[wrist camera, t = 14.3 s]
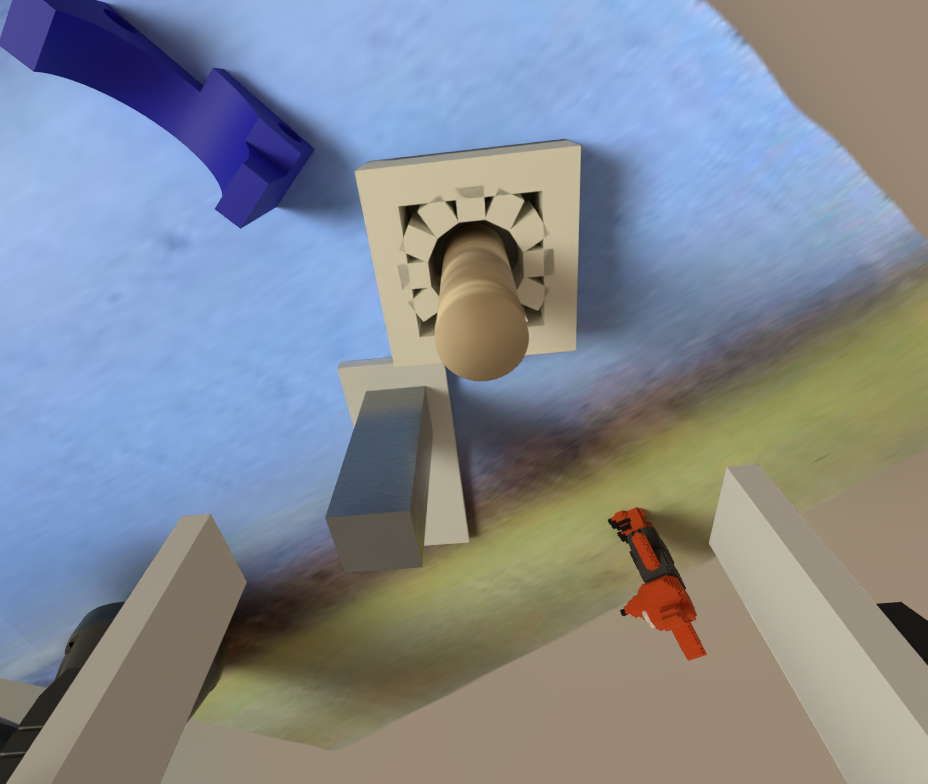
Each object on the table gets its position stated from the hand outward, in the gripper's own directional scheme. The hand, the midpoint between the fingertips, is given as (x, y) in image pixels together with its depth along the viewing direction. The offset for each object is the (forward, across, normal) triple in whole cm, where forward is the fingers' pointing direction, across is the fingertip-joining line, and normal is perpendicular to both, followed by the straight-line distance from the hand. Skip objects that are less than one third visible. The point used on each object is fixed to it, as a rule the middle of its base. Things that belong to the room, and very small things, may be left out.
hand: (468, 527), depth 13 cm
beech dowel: (+23, +1, +1) cm, 23 cm away
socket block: (+24, +1, +1) cm, 24 cm away
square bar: (+23, -6, -11) cm, 26 cm away
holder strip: (+24, -6, -16) cm, 30 cm away
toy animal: (+24, +13, -27) cm, 38 cm away
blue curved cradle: (+24, -14, +11) cm, 30 cm away
